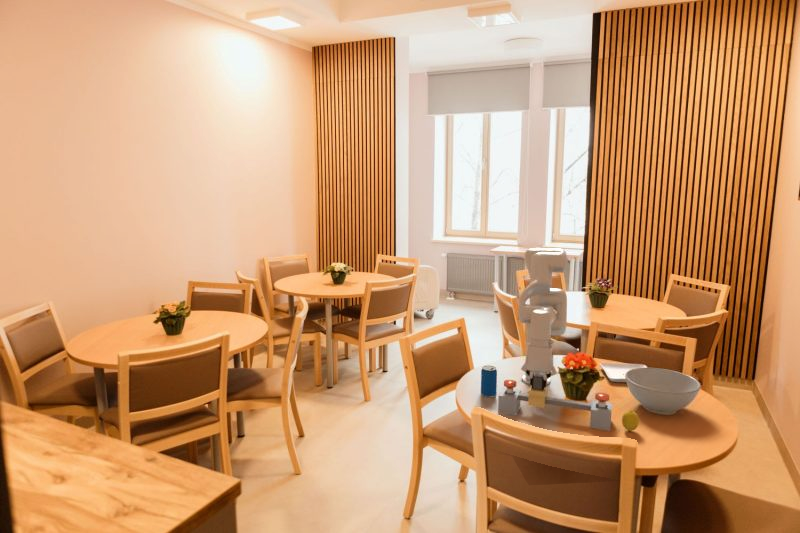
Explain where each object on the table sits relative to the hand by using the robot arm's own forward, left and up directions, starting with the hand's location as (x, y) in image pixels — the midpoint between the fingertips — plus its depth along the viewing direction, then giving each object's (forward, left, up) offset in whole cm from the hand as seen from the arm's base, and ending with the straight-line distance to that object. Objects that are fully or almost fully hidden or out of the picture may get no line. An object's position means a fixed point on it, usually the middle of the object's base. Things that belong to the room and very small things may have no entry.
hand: (538, 387), depth 209 cm
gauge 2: (0, +23, -7) cm, 24 cm away
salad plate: (-56, +32, -11) cm, 66 cm away
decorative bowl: (-24, +44, -11) cm, 51 cm away
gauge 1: (0, -11, -7) cm, 13 cm away
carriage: (0, 0, -6) cm, 6 cm away
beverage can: (-11, -22, -11) cm, 27 cm away
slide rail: (0, +6, -11) cm, 12 cm away
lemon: (+2, +33, -11) cm, 35 cm away
